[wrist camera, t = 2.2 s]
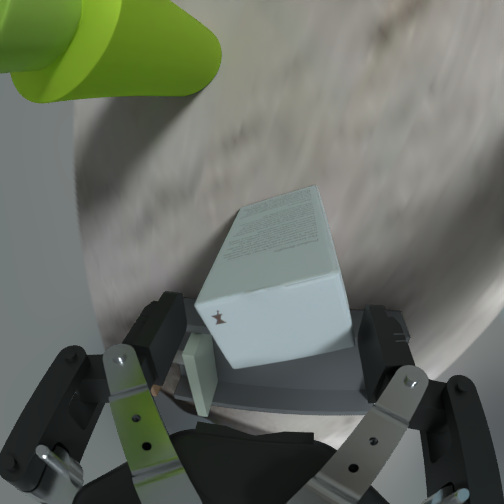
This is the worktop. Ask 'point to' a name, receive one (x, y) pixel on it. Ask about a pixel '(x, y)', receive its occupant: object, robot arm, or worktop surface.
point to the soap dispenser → (104, 49)
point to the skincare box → (277, 285)
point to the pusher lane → (288, 378)
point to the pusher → (198, 370)
